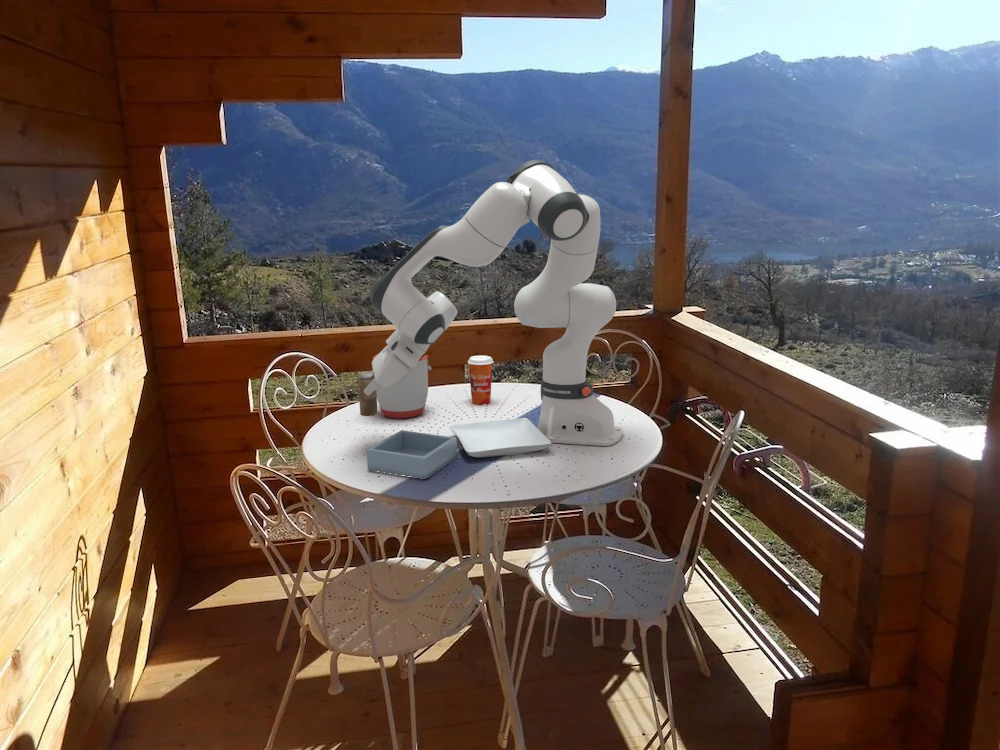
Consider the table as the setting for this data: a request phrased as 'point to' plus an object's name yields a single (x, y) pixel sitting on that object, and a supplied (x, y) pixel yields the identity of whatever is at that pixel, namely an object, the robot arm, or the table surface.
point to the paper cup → (480, 379)
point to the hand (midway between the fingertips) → (365, 390)
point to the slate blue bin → (412, 454)
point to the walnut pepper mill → (367, 402)
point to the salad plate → (500, 437)
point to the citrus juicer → (406, 393)
